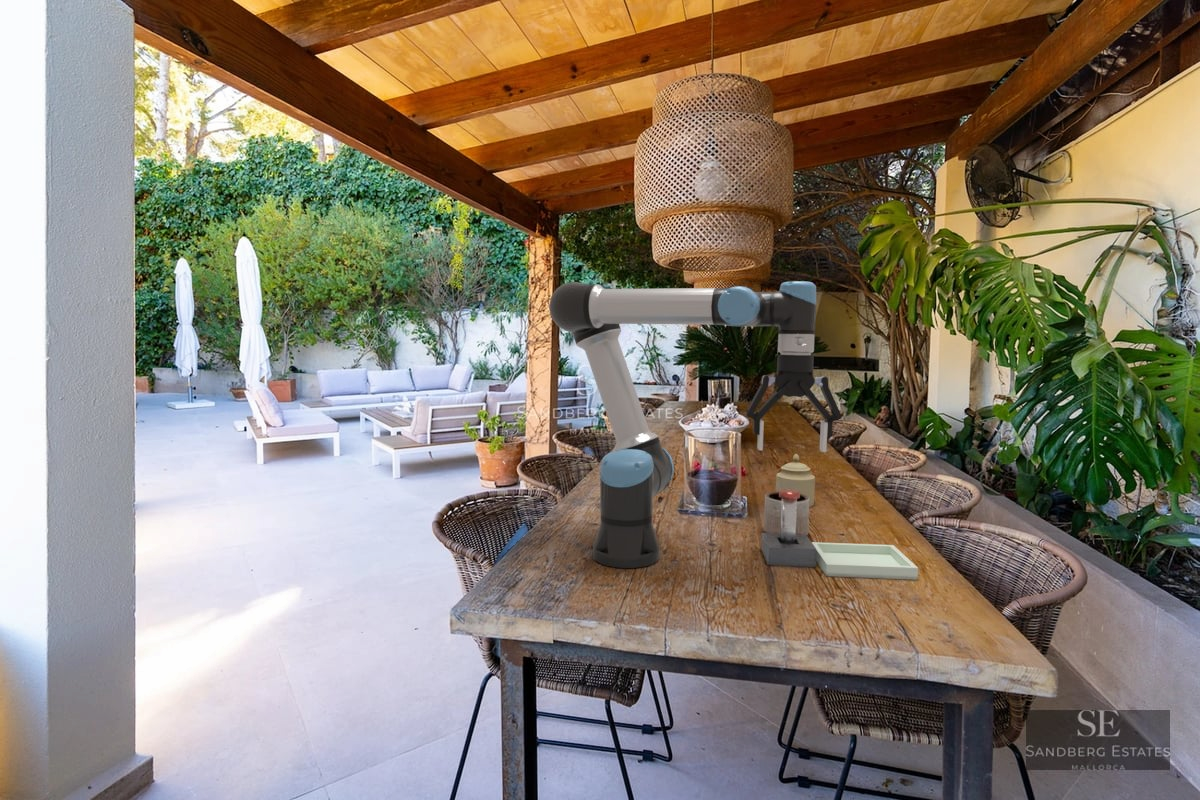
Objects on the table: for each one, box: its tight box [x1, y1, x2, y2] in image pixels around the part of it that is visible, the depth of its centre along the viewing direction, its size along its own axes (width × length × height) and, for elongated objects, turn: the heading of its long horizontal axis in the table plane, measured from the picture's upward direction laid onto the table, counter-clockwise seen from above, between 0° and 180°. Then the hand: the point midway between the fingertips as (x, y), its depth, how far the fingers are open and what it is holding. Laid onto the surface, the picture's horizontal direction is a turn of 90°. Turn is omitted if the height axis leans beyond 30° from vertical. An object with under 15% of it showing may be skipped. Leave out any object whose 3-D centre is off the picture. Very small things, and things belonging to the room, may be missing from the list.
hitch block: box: [760, 532, 817, 568], centre depth 138 cm, size 10×10×4 cm
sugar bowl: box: [775, 453, 816, 508], centre depth 185 cm, size 15×11×15 cm
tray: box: [811, 541, 919, 581], centre depth 133 cm, size 18×14×2 cm
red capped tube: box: [779, 489, 800, 544], centre depth 137 cm, size 4×4×15 cm
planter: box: [763, 491, 810, 536], centre depth 155 cm, size 11×11×10 cm
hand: (791, 450), depth 136 cm, fingers open, 13 cm apart
